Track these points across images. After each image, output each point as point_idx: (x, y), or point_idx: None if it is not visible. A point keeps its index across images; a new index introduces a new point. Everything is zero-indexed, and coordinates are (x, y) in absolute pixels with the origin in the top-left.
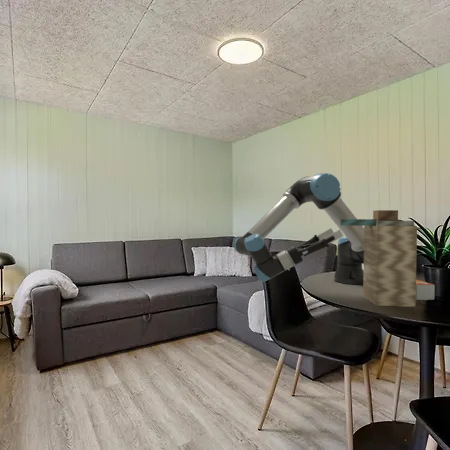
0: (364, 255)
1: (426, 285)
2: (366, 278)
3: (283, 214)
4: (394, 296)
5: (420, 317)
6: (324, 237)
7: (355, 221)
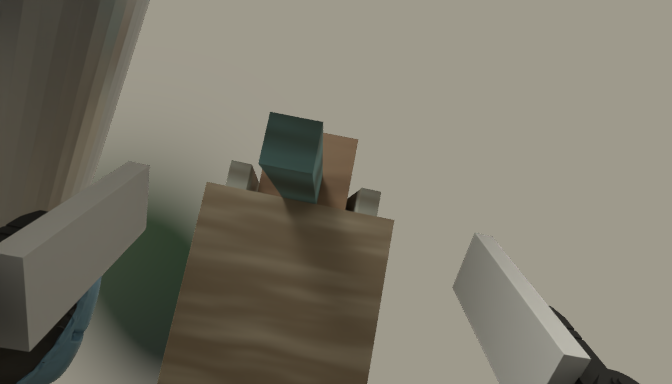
0: (172, 368)
1: None
2: None
3: None
4: None
5: None
6: (80, 276)
7: (319, 165)
